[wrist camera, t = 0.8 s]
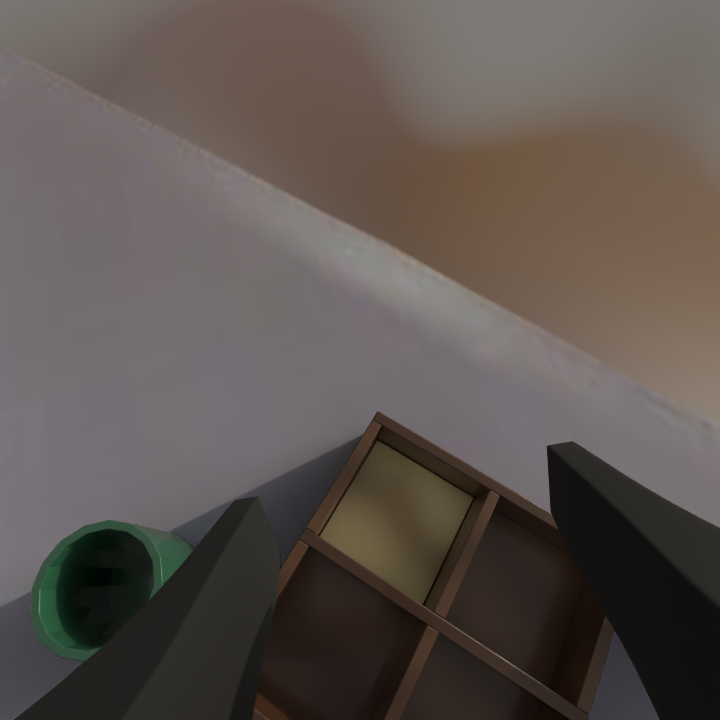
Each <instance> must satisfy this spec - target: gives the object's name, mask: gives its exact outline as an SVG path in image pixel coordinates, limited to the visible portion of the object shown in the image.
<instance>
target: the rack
mask: <svg viewBox="0 0 720 720" xmlns="http://www.w3.org/2000/svg"><path fill="white" fill-rule="evenodd" d="M306 528H307V529H305V530H304V531H303V533H302V534H301V536H300V538H299V539H300V540H298V541H297V543H296V544H295V546H294V547H293V549H292V551H291V552H290V554H289V556H288V557H287V559H286V560H285V562H284V564H283V565H282V567H281V568H280V570H279V582H278V592H277V600H276V605H275V610H274V615H273V619H272V624H271V629H270V634H269V639H268V643H267V648H266V653H265V658H264V662H263V667H262V672H261V676H260V681H259V686H258V690H257V695H256V701H255V707H254V713H253V719H252V720H587V719H588V714H589V713H590V710H591V707H592V704H593V700H594V697H595V694H596V690H597V687H598V684H599V680H600V677H601V674H602V670H603V667H604V664H605V660H606V657H607V654H608V650H609V647H610V644H611V641H612V637H613V634H614V629H613V627H612V625H611V624H610V622H609V620H608V619H607V617H606V615H605V614H604V612H603V610H602V609H601V607H600V605H599V603H598V602H597V600H596V598H595V597H594V595H593V593H592V592H591V590H590V588H589V587H588V585H587V583H586V581H585V580H584V578H583V576H582V575H581V573H580V571H579V569H578V568H577V566H576V564H575V563H574V561H573V559H572V557H571V556H570V554H569V552H568V550H567V548H566V546H565V544H564V541H563V539H562V537H561V535H560V532H559V530H558V528H557V525H556V523H555V521H554V518H553V516H552V514H551V513H550V512H548V511H547V510H545V509H543V508H542V507H540V506H538V505H536V504H535V503H533V502H531V501H530V500H528V499H526V498H525V497H523V496H521V495H519V494H518V493H516V492H514V491H513V490H511V489H509V488H508V487H506V486H504V485H502V484H501V483H499V482H497V481H496V480H494V479H492V478H491V477H489V476H487V475H485V474H484V473H482V472H480V471H479V470H477V469H475V468H474V467H472V466H470V465H468V464H467V463H465V462H463V461H462V460H460V459H458V458H457V457H455V456H453V455H451V454H450V453H448V452H446V451H445V450H443V449H441V448H440V447H438V446H436V445H434V444H433V443H431V442H429V441H428V440H426V439H424V438H423V437H421V436H419V435H417V434H416V433H414V432H412V431H411V430H409V429H407V428H406V427H404V426H402V425H400V424H399V423H397V422H395V421H394V420H392V419H390V418H389V417H387V416H385V415H383V414H382V413H380V412H377V413H376V415H375V416H374V418H373V420H372V421H371V423H370V424H369V426H368V428H367V429H366V431H365V432H364V434H363V436H362V437H361V439H360V441H359V442H358V444H357V445H356V447H355V449H354V450H353V452H352V454H351V455H350V457H349V458H348V460H347V462H346V463H345V465H344V466H343V468H342V470H341V471H340V473H339V475H338V476H337V478H336V479H335V481H334V483H333V484H332V486H331V487H330V489H329V491H328V492H327V494H326V496H325V497H324V499H323V500H322V502H321V504H320V505H319V507H318V509H317V510H316V512H315V513H314V515H313V517H312V518H311V520H310V521H309V523H308V525H307V526H306Z"/></svg>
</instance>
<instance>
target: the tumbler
mask: <svg viewBox="0 0 720 720" xmlns="http://www.w3.org/2000/svg"><path fill="white" fill-rule="evenodd" d="M193 550H194V548H193V547H192V546H191V545H190V544H189V543H188V542H187V541H186V540H184V539H183V538H181V537H179V536H177V535H175V534H172V533H168V532H164V531H160V530H156V529H151V528H147V527H143V526H139V525H135V524H131V523H124V522H118V521H112V520H107V521H103V522H99V523H94V524H90V525H86V526H83V527H82V528H80V529H79V530H77V531H76V532H74V533H72V534H71V535H69V536H68V537H66V538H65V539H63V540H62V541H61V542H60V543H59V544H58V545H57V546H56V547H55V549H54V550H53V551H52V552H51V553H50V555H49V556H48V557H47V558H46V559H45V561H44V562H43V564H42V565H41V567H40V570H39V572H38V575H37V577H36V580H35V582H34V585H33V587H32V591H31V607H30V619H31V621H32V624H33V626H34V629H35V631H36V634H37V636H38V639H39V641H40V642H41V643H42V644H43V645H44V646H46V647H47V648H48V649H49V650H51V651H52V652H53V653H54V654H56V655H57V656H58V657H60V658H66V659H71V660H77V661H83V662H84V661H86V660H87V659H88V658H90V657H91V656H92V655H93V654H94V653H95V652H97V651H98V650H99V649H100V648H101V647H102V646H103V645H104V644H105V643H106V642H108V641H109V640H110V639H111V638H112V637H113V636H114V635H115V634H116V633H117V632H118V631H119V630H120V629H121V628H122V627H123V626H124V625H125V624H126V623H127V622H128V621H130V620H131V618H132V617H133V616H134V615H135V614H136V613H137V612H138V611H139V610H140V609H141V608H142V607H143V606H144V605H145V604H146V603H147V602H148V601H149V600H150V599H151V598H152V597H153V596H154V594H155V593H156V592H157V591H158V590H159V589H160V588H161V587H162V586H163V585H164V583H165V582H166V581H167V580H168V579H169V578H170V577H171V576H172V575H173V573H174V572H175V571H176V570H177V569H178V568H179V567H180V566H181V565H182V563H183V562H184V561H185V560H186V559H187V557H188V556H189V555H190V554H191V553H192V551H193Z"/></svg>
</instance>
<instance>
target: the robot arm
mask: <svg viewBox="0 0 720 720" xmlns="http://www.w3.org/2000/svg"><path fill="white" fill-rule="evenodd" d="M547 457H548V474H549V491H550V507H551V514H552V516H553V518H554V521H555V523H556V525H557V528H558V530H559V532H560V535H561V537H562V539H563V541H564V544H565V546H566V548H567V550H568V552H569V554H570V556H571V557H572V559H573V561H574V563H575V564H576V566H577V568H578V569H579V571H580V573H581V575H582V576H583V578H584V580H585V581H586V583H587V585H588V587H589V588H590V590H591V592H592V593H593V595H594V597H595V598H596V600H597V602H598V603H599V605H600V607H601V609H602V610H603V612H604V614H605V615H606V617H607V619H608V620H609V622H610V624H611V625H612V627H613V629H614V631H615V632H616V634H617V636H618V637H619V639H620V641H621V642H622V644H623V646H624V648H625V650H626V652H627V653H628V655H629V657H630V659H631V661H632V663H633V665H634V666H635V668H636V671H637V673H638V675H639V677H640V679H641V681H642V683H643V685H644V687H645V689H646V691H647V694H648V696H649V698H650V700H651V702H652V704H653V706H654V708H655V710H656V712H657V714H658V717H659V719H660V720H720V528H719V527H717V526H715V525H713V524H711V523H709V522H707V521H705V520H703V519H701V518H699V517H697V516H695V515H694V514H692V513H690V512H688V511H686V510H684V509H683V508H681V507H679V506H677V505H675V504H673V503H671V502H670V501H668V500H666V499H664V498H663V497H661V496H659V495H657V494H656V493H654V492H652V491H651V490H649V489H647V488H646V487H644V486H642V485H641V484H639V483H637V482H636V481H634V480H632V479H631V478H629V477H628V476H626V475H624V474H623V473H621V472H620V471H618V470H617V469H615V468H613V467H612V466H610V465H609V464H607V463H606V462H604V461H603V460H601V459H600V458H598V457H596V456H595V455H593V454H592V453H590V452H589V451H587V450H586V449H584V448H583V447H581V446H580V445H578V444H576V443H575V442H573V441H571V442H566V443H560V444H554V445H549V446H547ZM279 569H280V554H279V551H278V548H277V546H276V543H275V540H274V538H273V535H272V532H271V530H270V527H269V524H268V522H267V519H266V516H265V513H264V511H263V508H262V505H261V503H260V500H259V497H258V496H257V497H251V498H245V499H240V500H235V501H234V502H233V503H232V504H231V505H230V507H229V508H228V509H227V510H226V511H225V512H224V514H223V515H222V516H221V517H220V519H219V520H218V521H217V522H216V523H215V525H214V526H213V527H212V528H211V530H210V531H209V532H208V533H207V535H206V536H205V537H204V538H203V539H202V541H201V542H200V543H199V544H198V545H197V547H196V548H195V549H194V550H193V551H192V553H191V554H190V555H189V556H188V557H187V559H186V560H185V561H184V562H183V563H182V565H181V566H180V567H179V568H178V569H177V570H176V571H175V572H174V573H173V575H172V576H171V577H170V578H169V579H168V580H167V581H166V582H165V583H164V585H163V586H162V587H161V588H160V589H159V590H158V591H157V592H156V593H155V594H154V596H153V597H152V598H151V599H150V600H149V601H148V602H147V603H146V604H145V605H144V606H143V607H142V608H141V609H140V610H139V611H138V612H137V613H136V614H135V615H134V616H133V617H132V618H131V620H130V621H128V622H127V623H126V624H125V625H124V626H123V627H122V628H121V629H120V630H119V631H118V632H117V633H116V634H115V635H114V636H113V637H112V638H111V639H110V640H109V641H108V642H106V643H105V644H104V645H103V646H102V647H101V648H100V649H99V650H98V651H97V652H95V653H94V654H93V655H92V656H91V657H90V658H88V659H87V660H86V661H85V662H84V663H83V664H81V665H80V666H79V667H78V668H77V669H76V670H74V671H73V672H72V673H71V674H70V675H69V676H67V677H66V678H65V679H64V680H63V681H62V682H61V683H59V684H58V685H57V686H56V687H55V688H53V689H52V690H51V691H50V692H48V693H47V694H46V695H45V696H43V697H42V698H41V699H40V700H38V701H37V702H36V703H35V704H33V705H32V706H31V707H30V708H28V709H27V710H26V711H24V712H23V713H22V714H20V715H19V716H18V717H16V718H15V719H14V720H252V719H253V713H254V707H255V701H256V695H257V690H258V686H259V681H260V676H261V672H262V667H263V662H264V658H265V653H266V648H267V643H268V639H269V634H270V629H271V624H272V619H273V615H274V610H275V605H276V600H277V592H278V582H279Z"/></svg>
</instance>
